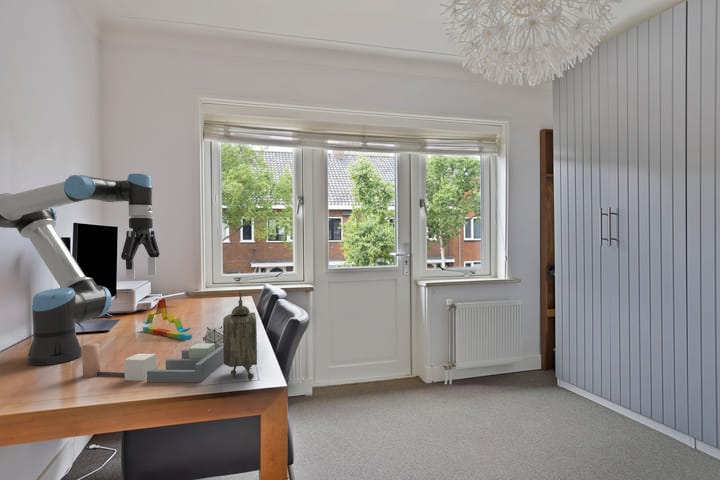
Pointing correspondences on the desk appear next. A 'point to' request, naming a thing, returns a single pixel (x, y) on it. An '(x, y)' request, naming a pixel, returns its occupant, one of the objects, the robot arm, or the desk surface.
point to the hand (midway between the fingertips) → (142, 276)
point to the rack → (188, 368)
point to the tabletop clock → (240, 338)
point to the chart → (163, 309)
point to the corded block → (133, 365)
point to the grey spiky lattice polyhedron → (214, 336)
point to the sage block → (201, 350)
